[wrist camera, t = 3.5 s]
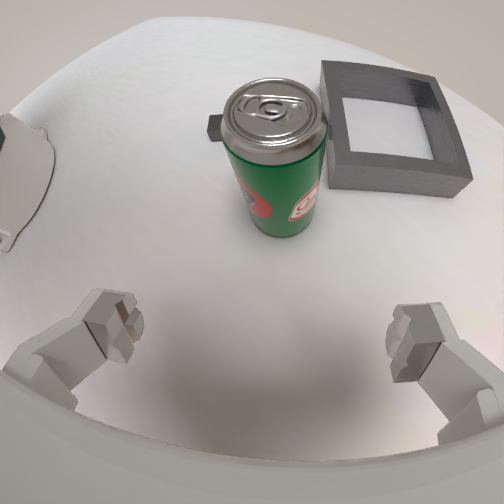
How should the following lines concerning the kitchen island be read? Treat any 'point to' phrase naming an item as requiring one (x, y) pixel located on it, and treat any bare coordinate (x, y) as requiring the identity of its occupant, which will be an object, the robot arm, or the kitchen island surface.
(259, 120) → the soda can
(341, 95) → the square frame with handle
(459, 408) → the robot arm
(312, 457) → the kitchen island surface
